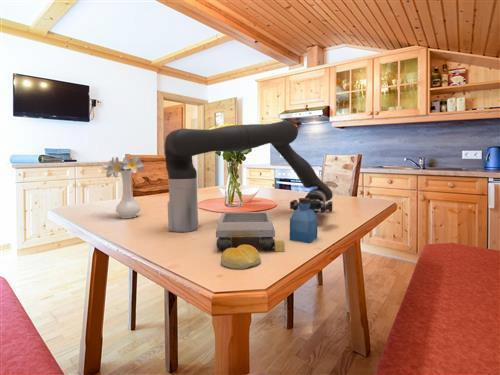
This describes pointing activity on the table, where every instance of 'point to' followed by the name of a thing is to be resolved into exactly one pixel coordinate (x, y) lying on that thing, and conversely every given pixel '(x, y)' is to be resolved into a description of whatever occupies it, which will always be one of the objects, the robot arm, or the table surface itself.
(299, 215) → the perfume bottle
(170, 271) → the table surface
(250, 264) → the bread roll
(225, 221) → the trolley
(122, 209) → the flower vase
